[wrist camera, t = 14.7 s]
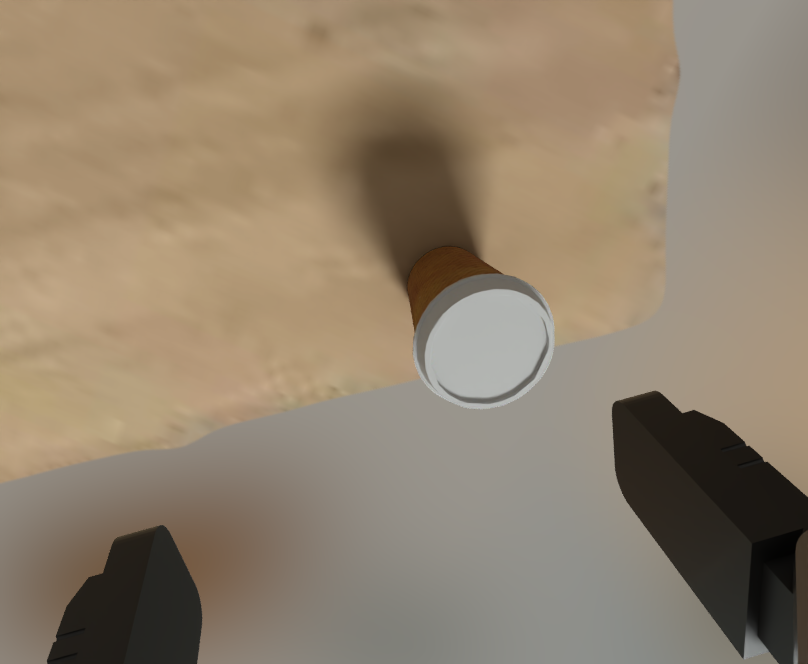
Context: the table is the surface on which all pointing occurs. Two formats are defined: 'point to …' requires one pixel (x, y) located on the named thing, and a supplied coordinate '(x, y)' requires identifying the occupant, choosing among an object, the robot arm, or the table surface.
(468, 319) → the disposable coffee cup
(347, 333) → the table surface
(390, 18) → the table surface
